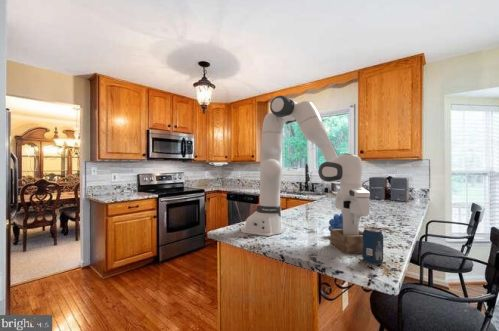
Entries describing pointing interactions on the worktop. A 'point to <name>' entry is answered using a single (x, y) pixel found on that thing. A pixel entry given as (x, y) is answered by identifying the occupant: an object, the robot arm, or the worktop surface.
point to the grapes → (336, 222)
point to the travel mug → (349, 221)
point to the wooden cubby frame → (346, 241)
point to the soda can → (372, 245)
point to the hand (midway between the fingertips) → (350, 222)
